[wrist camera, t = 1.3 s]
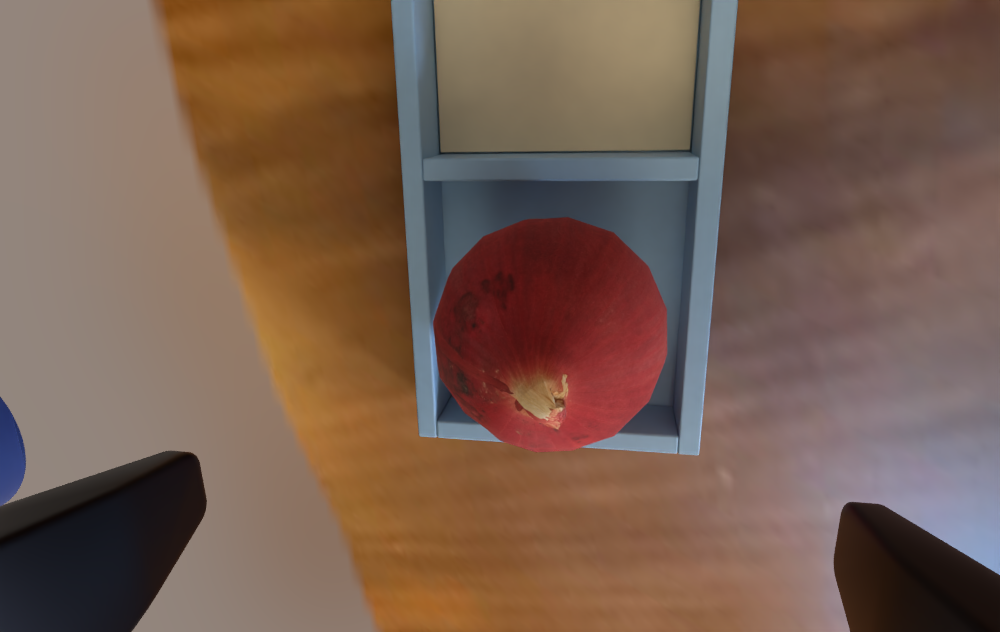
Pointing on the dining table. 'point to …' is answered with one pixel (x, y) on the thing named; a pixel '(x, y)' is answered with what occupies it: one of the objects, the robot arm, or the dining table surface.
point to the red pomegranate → (551, 334)
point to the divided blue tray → (568, 162)
